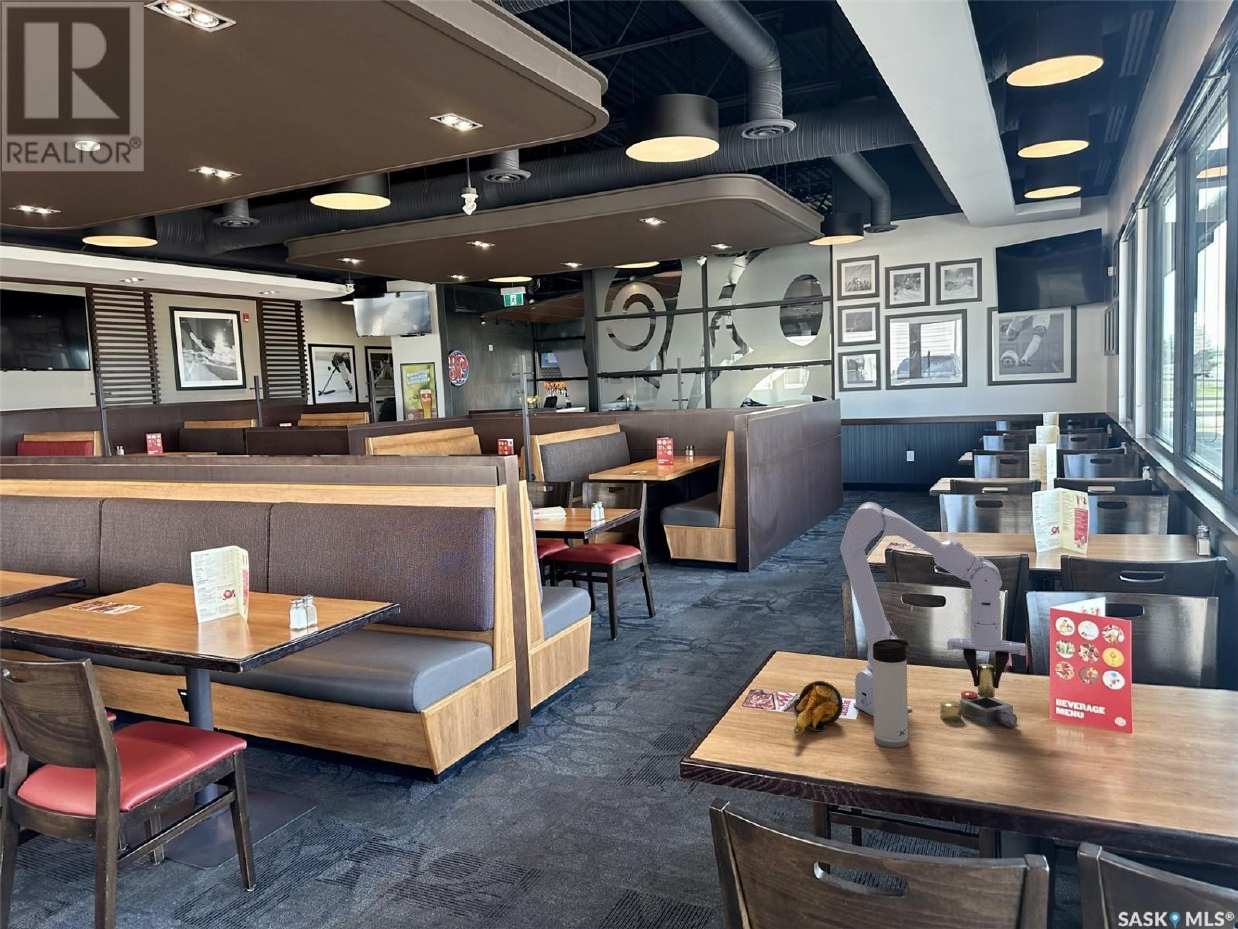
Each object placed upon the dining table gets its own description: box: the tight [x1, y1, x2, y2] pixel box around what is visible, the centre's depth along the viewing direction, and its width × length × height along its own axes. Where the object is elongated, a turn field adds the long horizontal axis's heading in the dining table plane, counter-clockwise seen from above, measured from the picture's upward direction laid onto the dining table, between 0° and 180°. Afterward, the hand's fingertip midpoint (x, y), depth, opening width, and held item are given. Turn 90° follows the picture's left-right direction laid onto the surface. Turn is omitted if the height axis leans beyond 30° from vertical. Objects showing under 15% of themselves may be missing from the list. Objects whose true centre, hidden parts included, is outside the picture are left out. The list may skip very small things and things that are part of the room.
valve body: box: [959, 690, 1018, 729], centre depth 166 cm, size 7×13×4 cm, turn 21°
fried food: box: [792, 680, 844, 736], centre depth 164 cm, size 9×11×18 cm
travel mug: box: [873, 638, 909, 749], centre depth 156 cm, size 6×7×20 cm
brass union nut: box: [939, 700, 962, 723], centre depth 167 cm, size 4×4×3 cm
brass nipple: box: [976, 663, 996, 698], centre depth 165 cm, size 3×3×6 cm
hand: (986, 686), depth 166 cm, fingers closed on brass nipple, 3 cm apart
